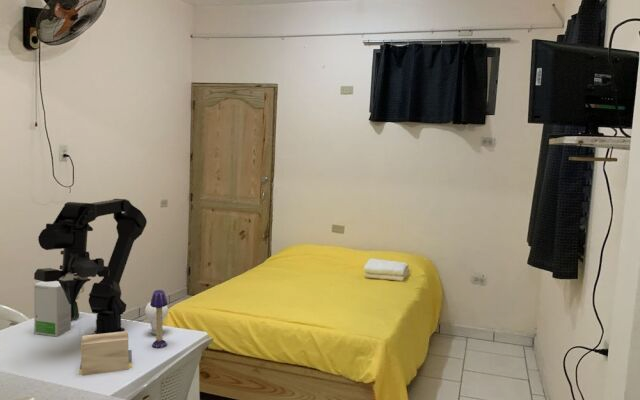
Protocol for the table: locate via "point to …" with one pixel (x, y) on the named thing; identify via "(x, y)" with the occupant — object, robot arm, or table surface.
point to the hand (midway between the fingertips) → (71, 304)
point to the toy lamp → (159, 316)
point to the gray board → (129, 362)
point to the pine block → (104, 352)
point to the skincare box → (51, 309)
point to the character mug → (74, 306)
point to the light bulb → (154, 316)
